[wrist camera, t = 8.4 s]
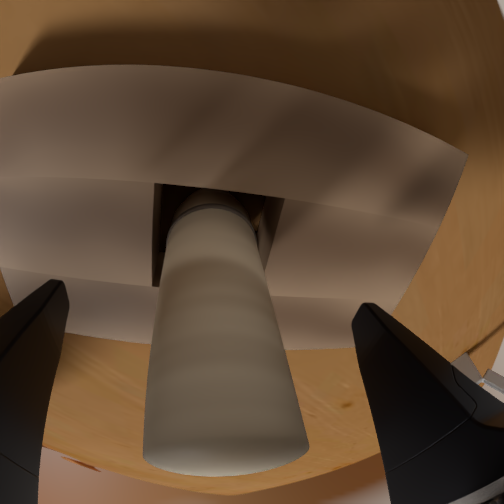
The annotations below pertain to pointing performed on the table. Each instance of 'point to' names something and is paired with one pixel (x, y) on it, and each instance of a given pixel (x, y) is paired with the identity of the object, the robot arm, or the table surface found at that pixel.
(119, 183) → the board
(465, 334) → the table surface
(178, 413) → the dowel
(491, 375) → the lighter
